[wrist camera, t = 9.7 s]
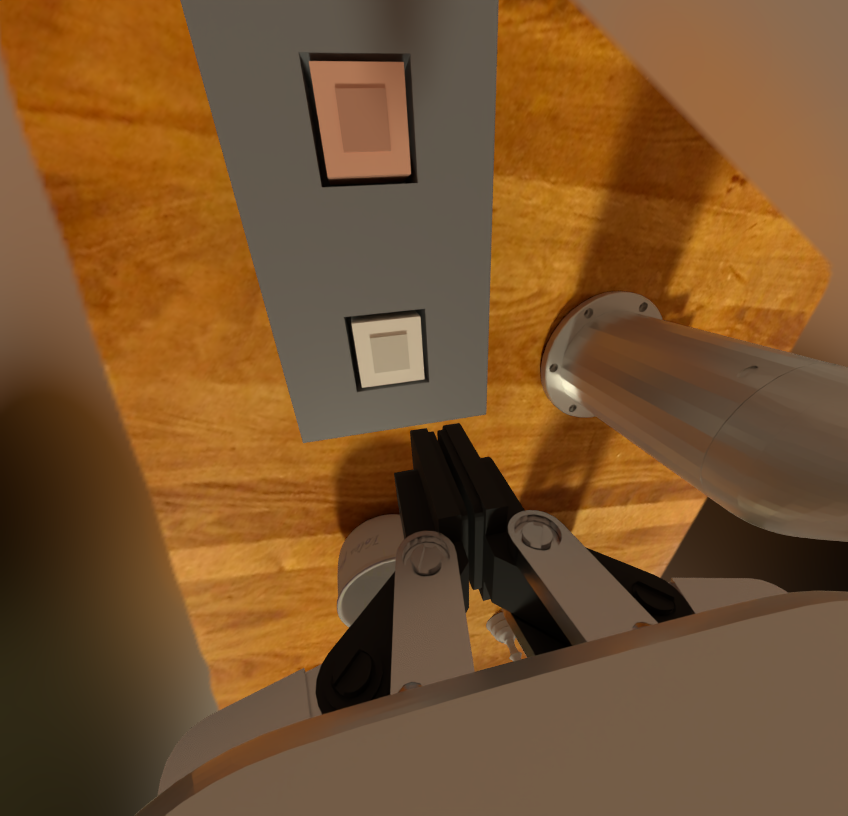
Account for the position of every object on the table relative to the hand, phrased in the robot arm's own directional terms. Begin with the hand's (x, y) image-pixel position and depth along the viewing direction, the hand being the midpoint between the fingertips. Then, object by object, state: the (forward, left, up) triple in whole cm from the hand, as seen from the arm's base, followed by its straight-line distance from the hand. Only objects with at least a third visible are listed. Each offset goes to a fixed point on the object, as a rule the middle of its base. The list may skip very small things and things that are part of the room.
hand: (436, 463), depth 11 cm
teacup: (+3, +25, -19) cm, 32 cm away
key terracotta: (0, -12, -15) cm, 20 cm away
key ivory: (0, 0, -15) cm, 15 cm away
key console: (0, -6, -19) cm, 20 cm away
